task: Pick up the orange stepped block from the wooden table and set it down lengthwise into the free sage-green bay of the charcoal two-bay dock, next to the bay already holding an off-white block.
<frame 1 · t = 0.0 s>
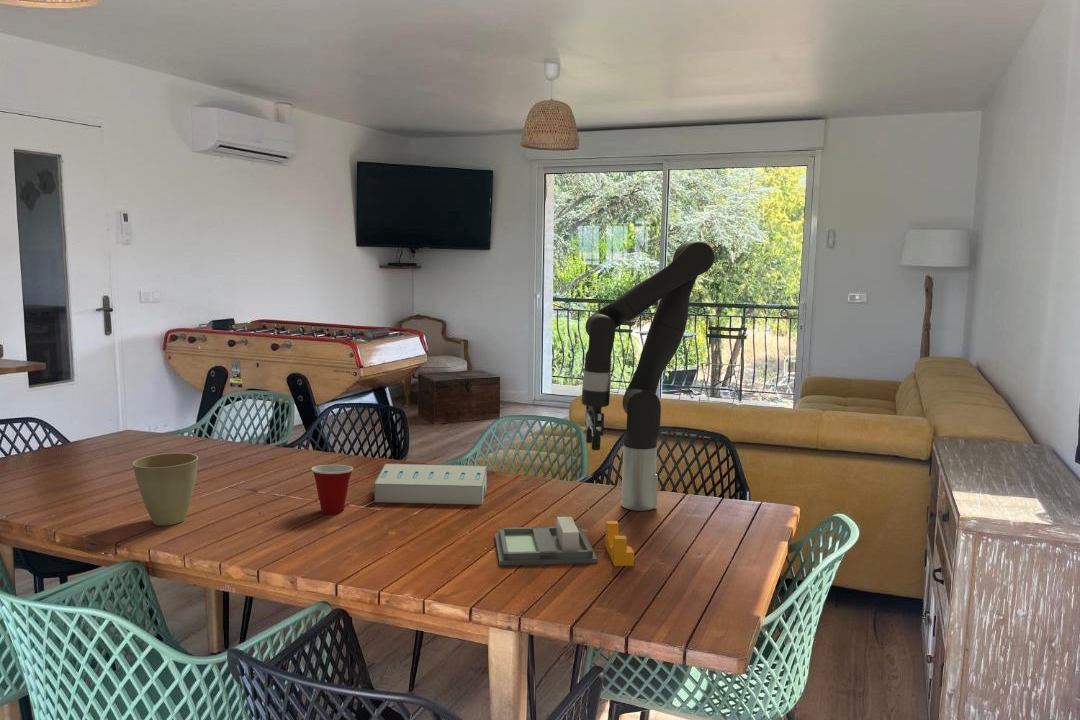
hand: (592, 446, 215), 17 cm above the table, tool pointing down, fingers open, 8 cm apart
plastic cup: (333, 511, 210), on the table
plant pot: (168, 521, 200), on the table
warehouse: (432, 497, 225), on the table
orange stepped block: (619, 557, 182), on the table
dock: (543, 549, 184), on the table
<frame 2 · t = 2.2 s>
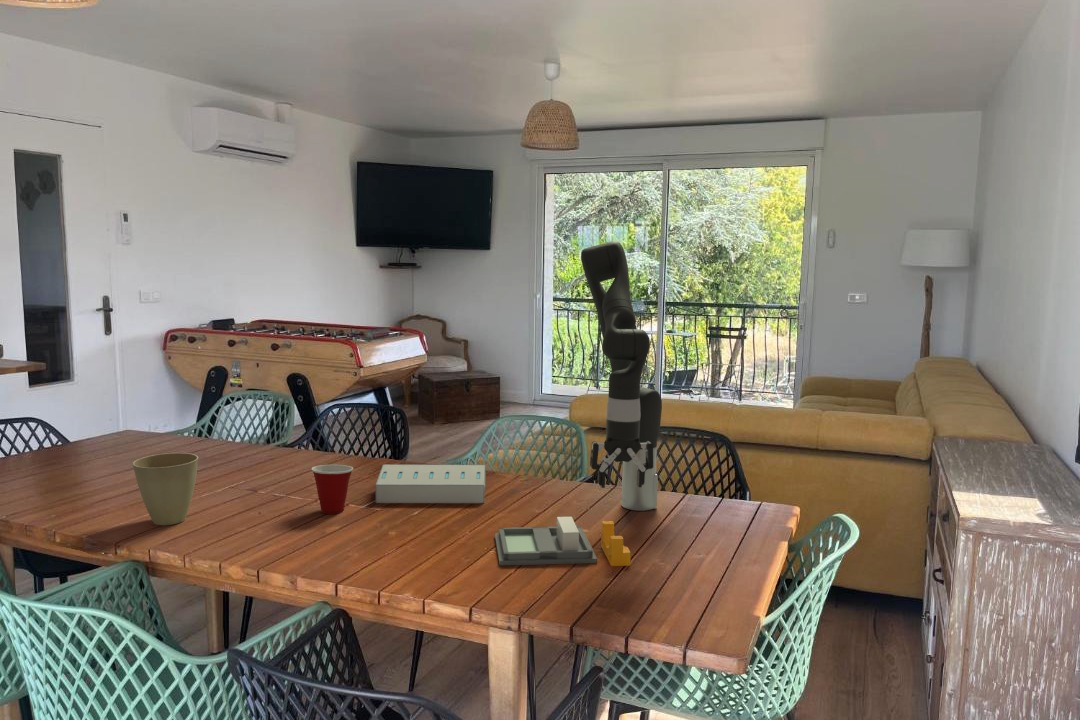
hand: (620, 486, 179), 16 cm above the table, tool pointing down, fingers open, 8 cm apart
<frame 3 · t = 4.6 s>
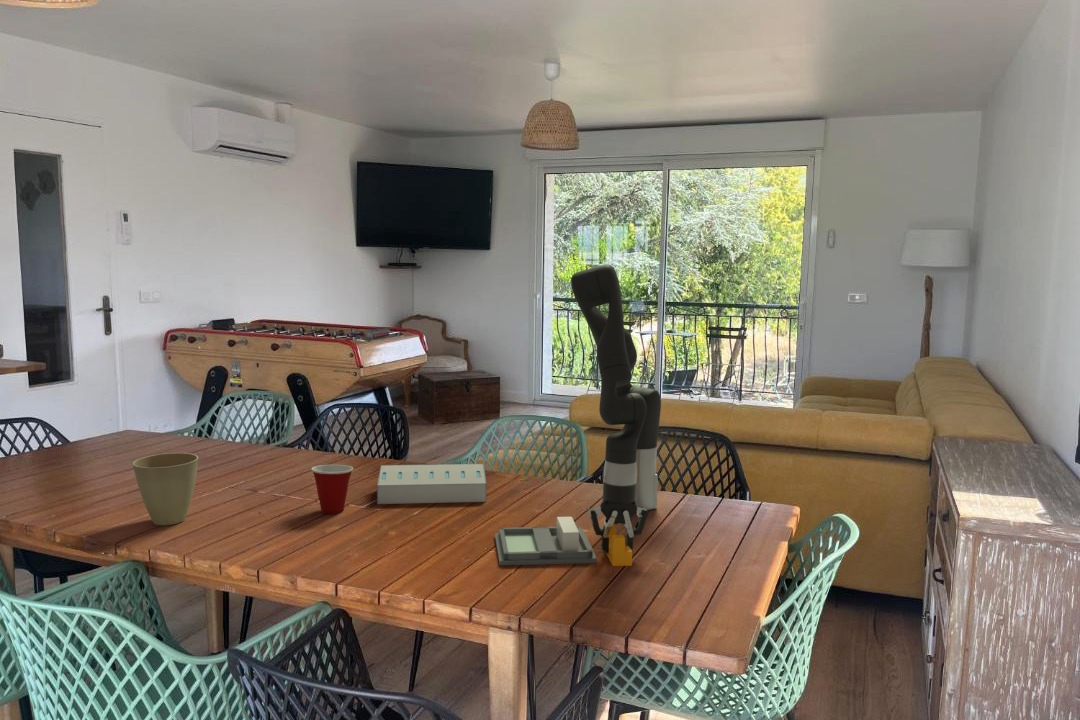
hand: (616, 551, 181), 1 cm above the table, tool pointing down, fingers closed on orange stepped block, 4 cm apart
orange stepped block: (616, 556, 181), on the table, touching gripper
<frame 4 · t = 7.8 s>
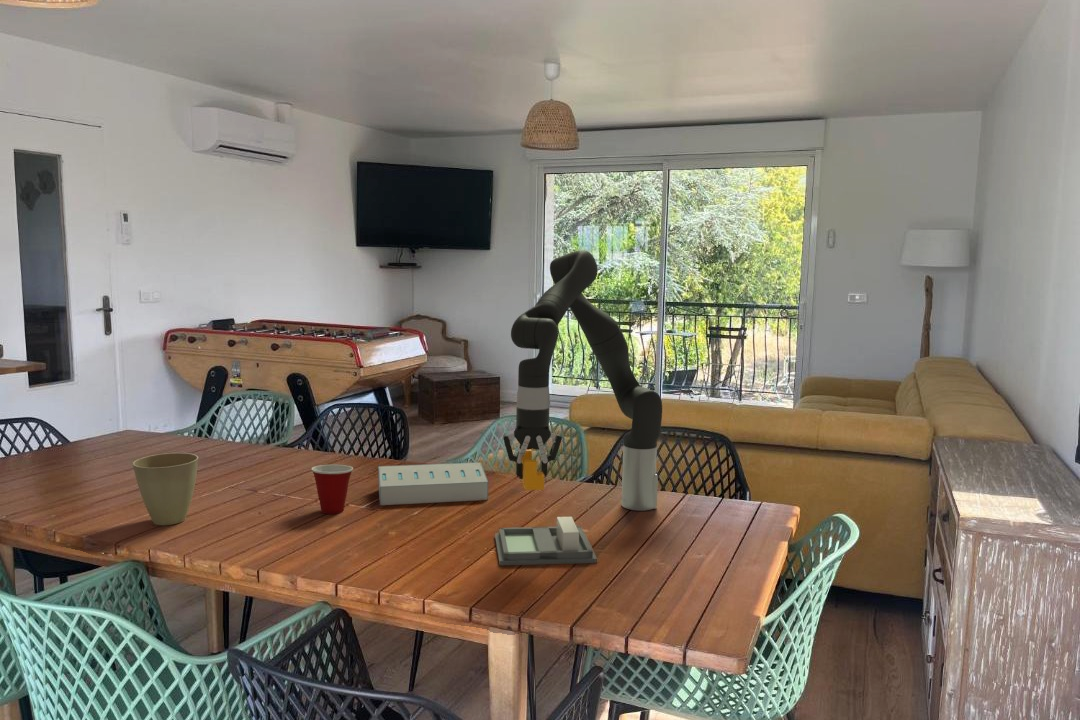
hand: (531, 477, 181), 18 cm above the table, tool pointing down, fingers closed on orange stepped block, 4 cm apart
orange stepped block: (531, 483, 181), point 16 cm above the table, touching gripper
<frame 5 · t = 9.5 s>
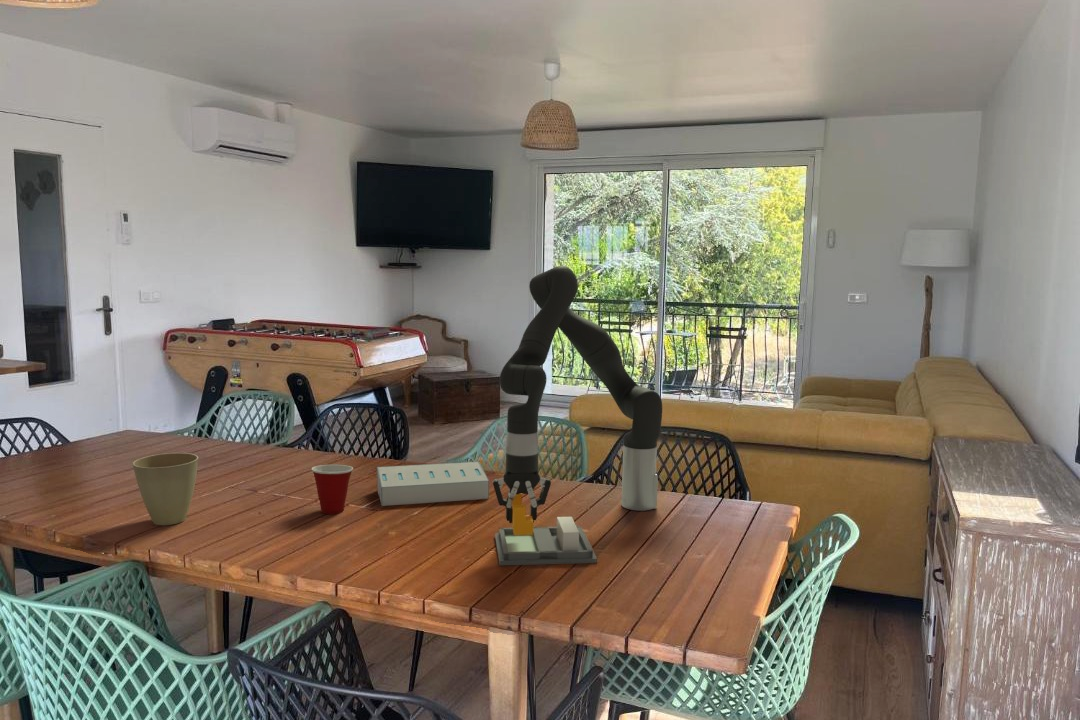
hand: (521, 521, 183), 7 cm above the table, tool pointing down, fingers closed on orange stepped block, 4 cm apart
orange stepped block: (521, 526, 183), point 6 cm above the table, touching gripper
when the fingers open (3 cm above the table, at t = 10.9 s): orange stepped block drops 1 cm, resting on dock.
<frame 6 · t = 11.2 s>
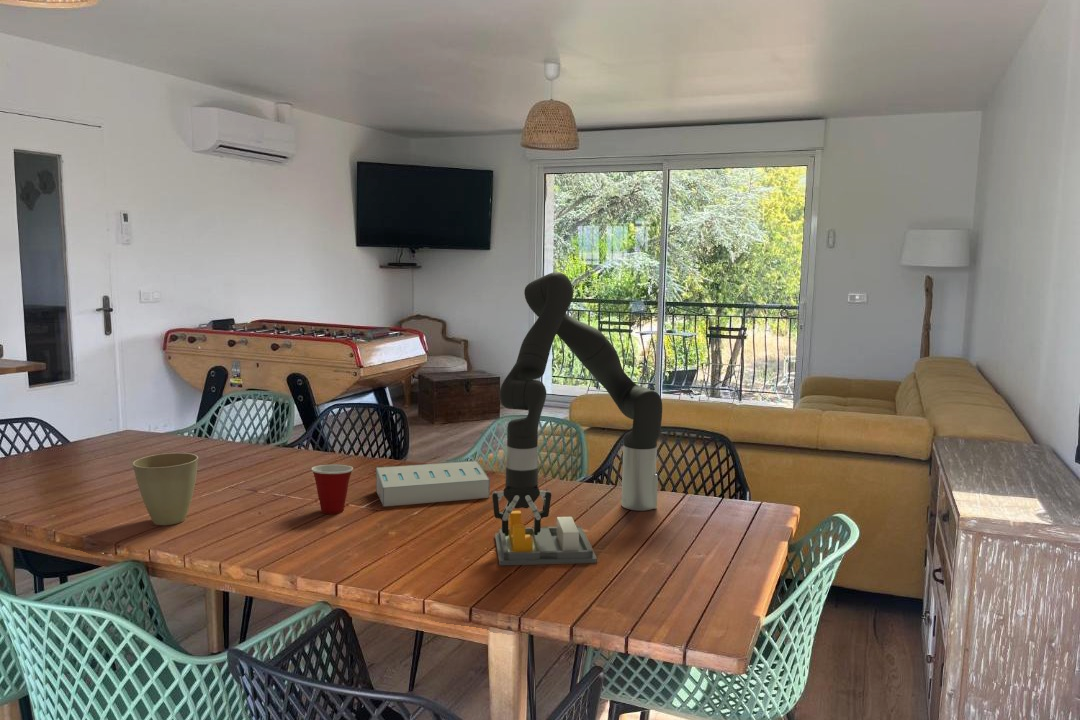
hand: (520, 534, 183), 4 cm above the table, tool pointing down, fingers open, 6 cm apart
orange stepped block: (520, 546, 184), point 1 cm above the table, touching dock
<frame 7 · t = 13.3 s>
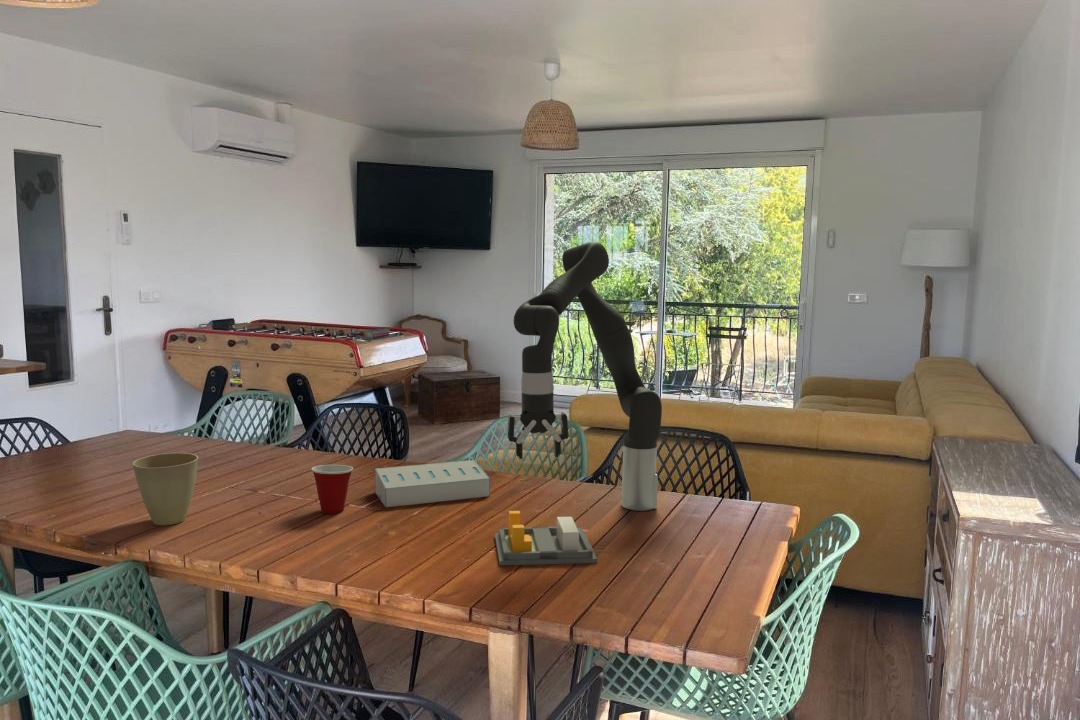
hand: (538, 457, 187), 21 cm above the table, tool pointing down, fingers open, 8 cm apart
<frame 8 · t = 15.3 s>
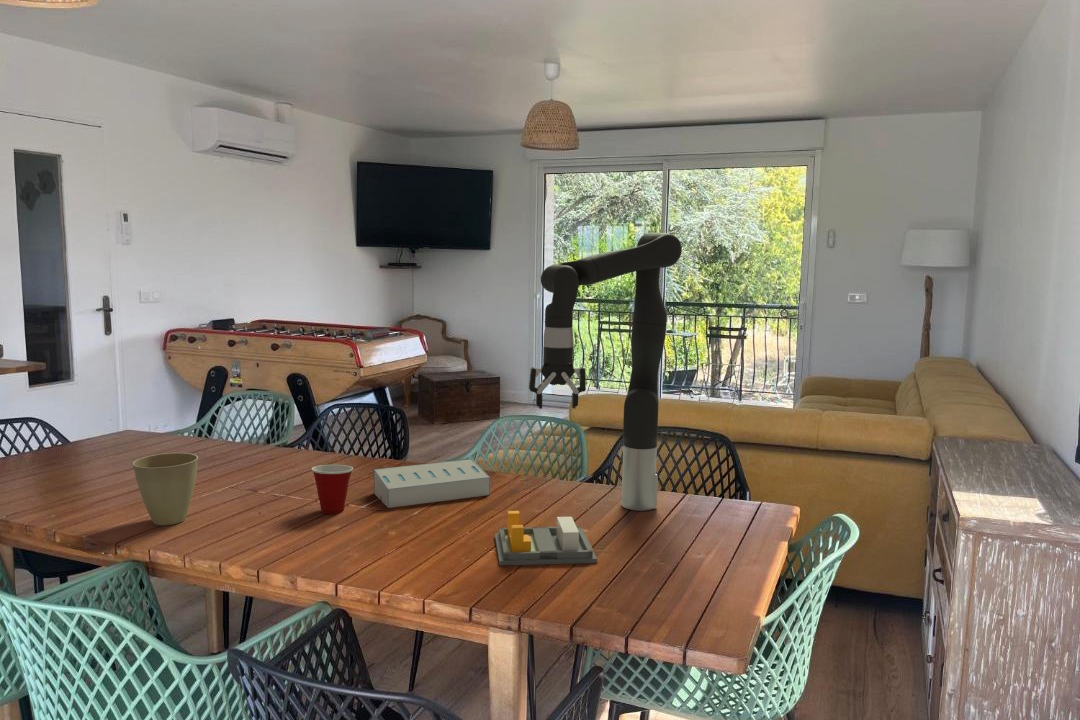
hand: (556, 408, 200), 30 cm above the table, tool pointing down, fingers open, 8 cm apart
at the end: orange stepped block 0.4 cm from the target spot on the dock, point 0.9 cm above the dock's base; orange stepped block tilted 0°; the gripper is holding nothing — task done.
